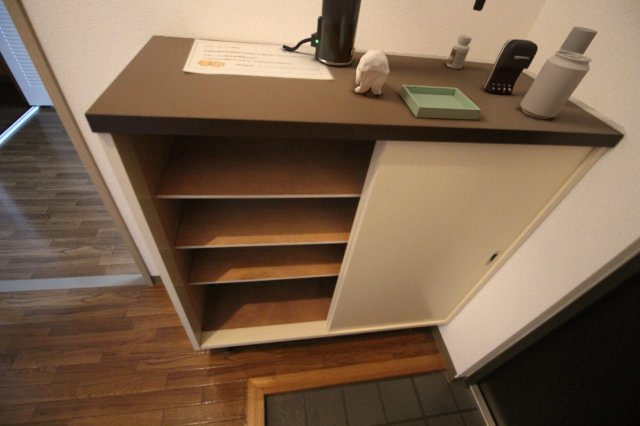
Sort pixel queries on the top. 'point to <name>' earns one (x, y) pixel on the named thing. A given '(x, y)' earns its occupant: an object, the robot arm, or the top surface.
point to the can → (555, 84)
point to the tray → (439, 102)
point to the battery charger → (510, 65)
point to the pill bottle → (459, 52)
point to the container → (578, 40)
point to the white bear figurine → (372, 72)
